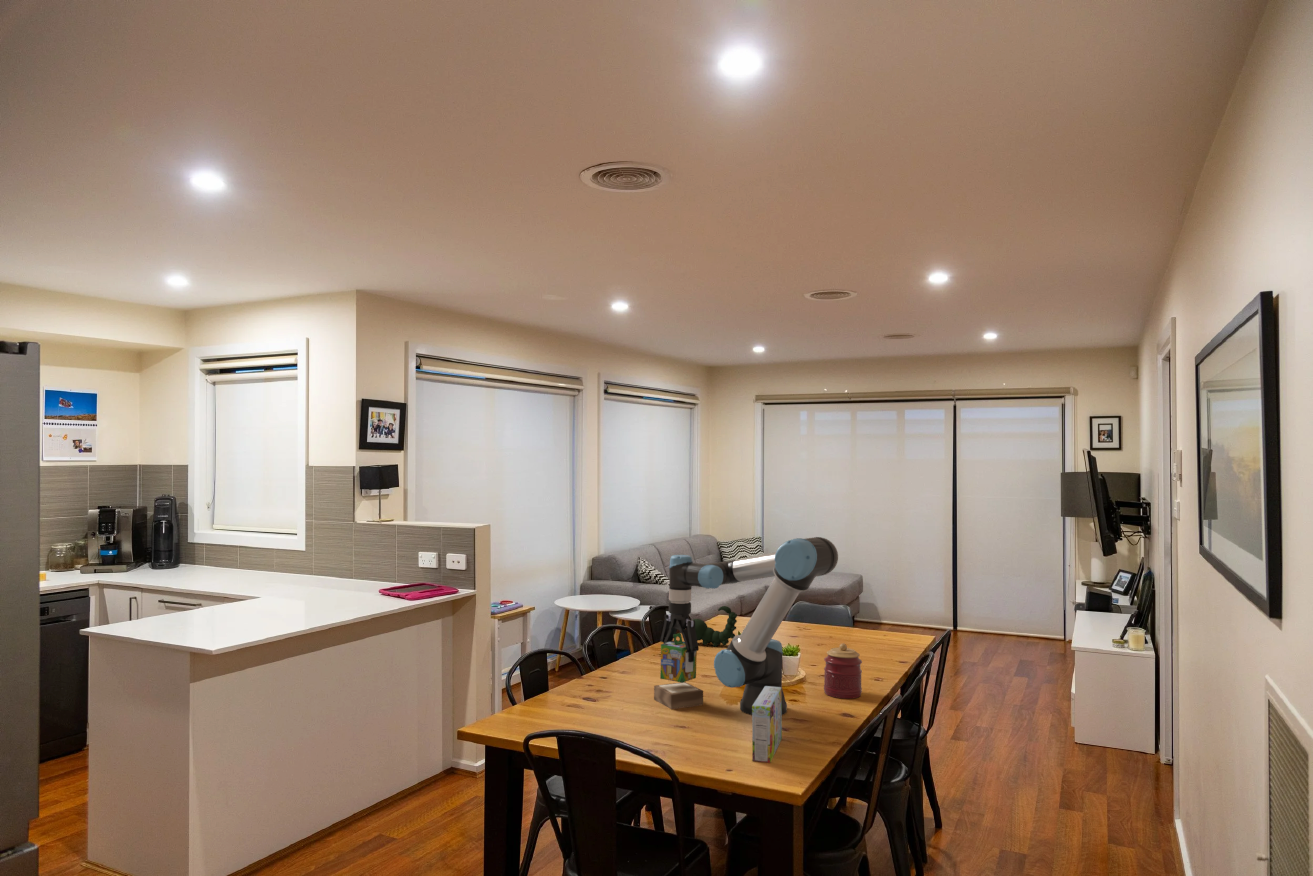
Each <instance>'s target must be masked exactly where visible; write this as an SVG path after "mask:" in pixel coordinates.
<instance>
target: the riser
mask: <svg viewBox="0 0 1313 876" xmlns="http://www.w3.org/2000/svg"><path fill="white" fill-rule="evenodd" d="M653 687H654V688H653V700H654V701H655V702H658V703H659V704H660V705H662V706H664V707H666V708H668V709H670V710H676V709H677V710H678V709H683V708H690V707H698V706H703V705H704V690H702V689H701V688H698V687H696V686H694V685H692V684H690V683H689V682H687V681H686V682H683V683H681V682H674V683H666V684H665V683H664V684H657V685H653Z"/></svg>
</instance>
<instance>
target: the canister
mask: <svg viewBox="0 0 1313 876" xmlns="http://www.w3.org/2000/svg"><path fill="white" fill-rule="evenodd" d="M826 654H827V656H825V658H823V659H824V662H825V666H824V668H823V669H824V682H823V683H824V684H823V691H824V694H825V695H826V696H828V697H830V698H831V697H832V698H837V699H846V700H847V699H851V700H852V699H857V698H860V697H861V695H862V673H863V670H862V668H861V665H862V663H863V661H862V659H860V658H859V657H860V653H859V652H857V651H856V650H855V649H853V648H850V647H848V646H847V644H845V642H843V643H840V644H839V647H832V648H831V649H830V650H827V651H826Z"/></svg>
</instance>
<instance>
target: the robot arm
mask: <svg viewBox="0 0 1313 876" xmlns="http://www.w3.org/2000/svg"><path fill="white" fill-rule="evenodd" d="M838 561H839V553H838V550H837V547H836V546H835V544H834V543H833V542H832V541H830V540H829V539H827V538H825V537H820V536H815V537H805V538H797V537H796V538H793V539H790V540H787V541H785V542H783V543H782V544H781V545H779V546H778V548H777V550H776V551H775V552H769V553H764V554H758V555H753V556H748V557H743V558H738V559H731V560H726V561H720V562H717V561H716V562H711V563H700V562H699V563H698V562H693V557H692V556H691V555H688V554H674V555H673V554H672V555H671V556H670V559H669V567H668V569H669V571H668V572H669V574H668V576H669V577H668V578H669V584H668V585H669V587H668V600H669V602H668V614H664V622H663V623H664V624H663V626H662V627H663V628H662V632H661V634H660V635H661V636H660V642H661V643H662V644H664V643H667V642H671V641H674V638H673V635H674V634H677V631H679V633H681V637H682V640H683V642H685V645H686V649H687V651H686V652H685V672H692V671H693V662H694V652H695V651H697V652H699V649H700V648H699V643H698V641H697V636H696V630H695V620H693V619H690V618H689V615H690V614H691V613H692V603H691V601H692V587H697V588H698V587H699V588H704V589H706V590H708V589H712V590H713V589H718V588H719V587H720V586H722V585H728V584H729V585H732V584H736V583H741V582H746V581H752V580H758V579H759V580H761V579H764V578H765V579H766V578H772V577H774V578H773V580H772V581H771V583H770V584H769V587H768V588H767V589H766V591H765V593H764V595H763V597H762V599H760V601H759V603H758V604H757V607H756V609H755V610H754V611H753V614H752V615H751V617H750V619H749V620H748V622H746V623H747V624H746V625H745V627H744V628H743V630H742V632H741V634H737V635H736V634H735V637H734V638H733V639H731V641H730V642H729V643H728V646H727V647H726V649H721V650H720V651H718V652H717V653H716V655H715V657H714V660H713V668H714V670H715V671H714V672H715V673H714V674H715V675H716V677H717V679H718V680H719V682H720V683H722V685H724V686H726V687H727V688H740V687H743V686H745V687H744V690H743V693H742V697H741V699H740V701H739V709H740V711H741V712H743V713H745V714H747V715H751V716H752V705H753V704H754V702H755V701H756V699H757V698H758V696H759V695H760V693H761V692H762V690H763V688H764V687H765V686H772V687H781V693H782V715H786V714H787V712H788V704H787V701H786V698H785V693H784V689H783V684H782V683H783V682H782V681H783V654H784V652H783V644H782V642H781V641H779V640H777V639H773V637H774V636H775V634H776V632H777V630H778V629H779V627H780V626H781V624H782V622H783V620H784V619H785V618H786V615H787V614H788V612H789V610H790V609H791V607H792V606H793V604H794V603H795V600H796V599H797V597H799V594H800V593H802V592H806V591H808V590H809V588H810V587H811V585H812V583H813V581H814V580H815V578H816V577H821V576H825V575H827V574H830V573H831V572H833V570H834V569H835V568H836V567H837V564H838Z"/></svg>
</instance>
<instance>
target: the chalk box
mask: <svg viewBox="0 0 1313 876" xmlns="http://www.w3.org/2000/svg"><path fill="white" fill-rule="evenodd" d="M677 638H679V640H677ZM686 651H687V649H686V645H685V642H684V641H683V636H682V633H680V632H676V634H674V635H673V641H671V642H667V643H661V644H660V673H659V674H660V680H664V681H665V680H666V681H667V680H668V681H673V682H675V683H680V682H681V683H683V682H686V683H687V682H689V681H691V680H695V679H696V678H697V659H698V658H697V657H698V656H697V654H698V653H697V652H698V651H695V652H694V662H693V671H692V672H685V652H686Z"/></svg>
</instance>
